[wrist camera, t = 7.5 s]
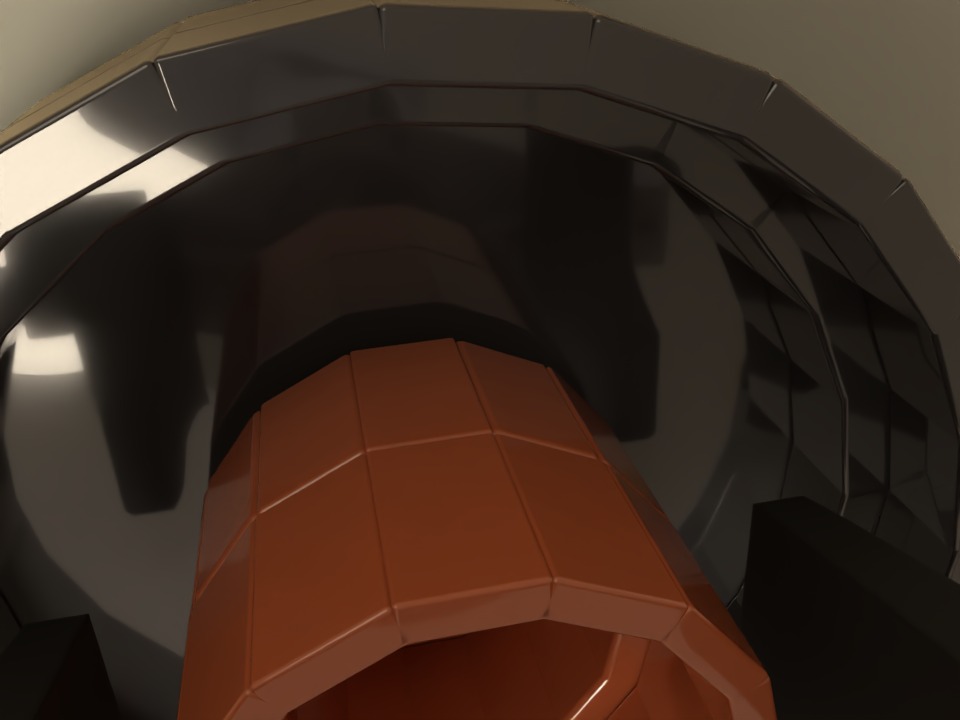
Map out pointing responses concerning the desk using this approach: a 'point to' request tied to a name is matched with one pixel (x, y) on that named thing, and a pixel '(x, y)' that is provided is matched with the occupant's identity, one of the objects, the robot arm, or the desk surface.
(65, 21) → the desk surface
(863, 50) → the desk surface
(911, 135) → the desk surface
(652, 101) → the pan
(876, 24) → the desk surface
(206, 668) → the terracotta cup
